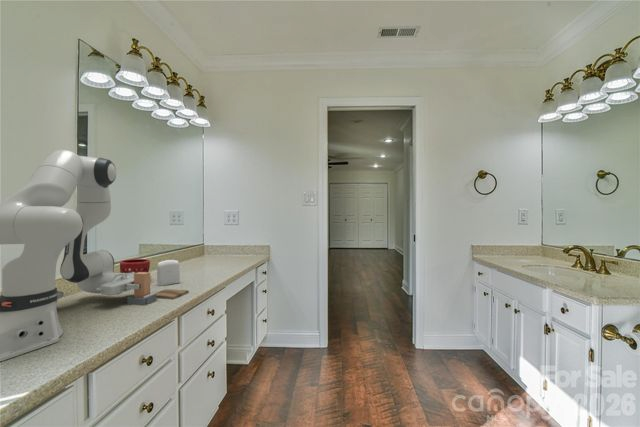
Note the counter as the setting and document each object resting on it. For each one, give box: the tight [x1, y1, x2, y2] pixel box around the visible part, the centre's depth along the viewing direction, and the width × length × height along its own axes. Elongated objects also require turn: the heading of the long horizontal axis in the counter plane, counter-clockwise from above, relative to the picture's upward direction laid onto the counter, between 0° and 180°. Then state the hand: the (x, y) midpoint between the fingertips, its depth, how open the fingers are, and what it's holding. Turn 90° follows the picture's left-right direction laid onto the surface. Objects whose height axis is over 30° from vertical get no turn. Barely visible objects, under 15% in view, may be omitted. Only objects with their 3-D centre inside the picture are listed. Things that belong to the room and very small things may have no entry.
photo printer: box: [156, 259, 181, 287], centre depth 151 cm, size 10×4×12 cm, turn 127°
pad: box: [156, 288, 190, 300], centre depth 132 cm, size 10×12×1 cm
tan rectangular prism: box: [133, 272, 151, 298], centre depth 121 cm, size 3×5×12 cm, turn 79°
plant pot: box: [119, 258, 151, 273], centre depth 153 cm, size 13×13×12 cm
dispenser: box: [127, 291, 158, 306], centre depth 122 cm, size 7×9×4 cm
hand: (144, 285), depth 121 cm, fingers closed on tan rectangular prism, 3 cm apart
